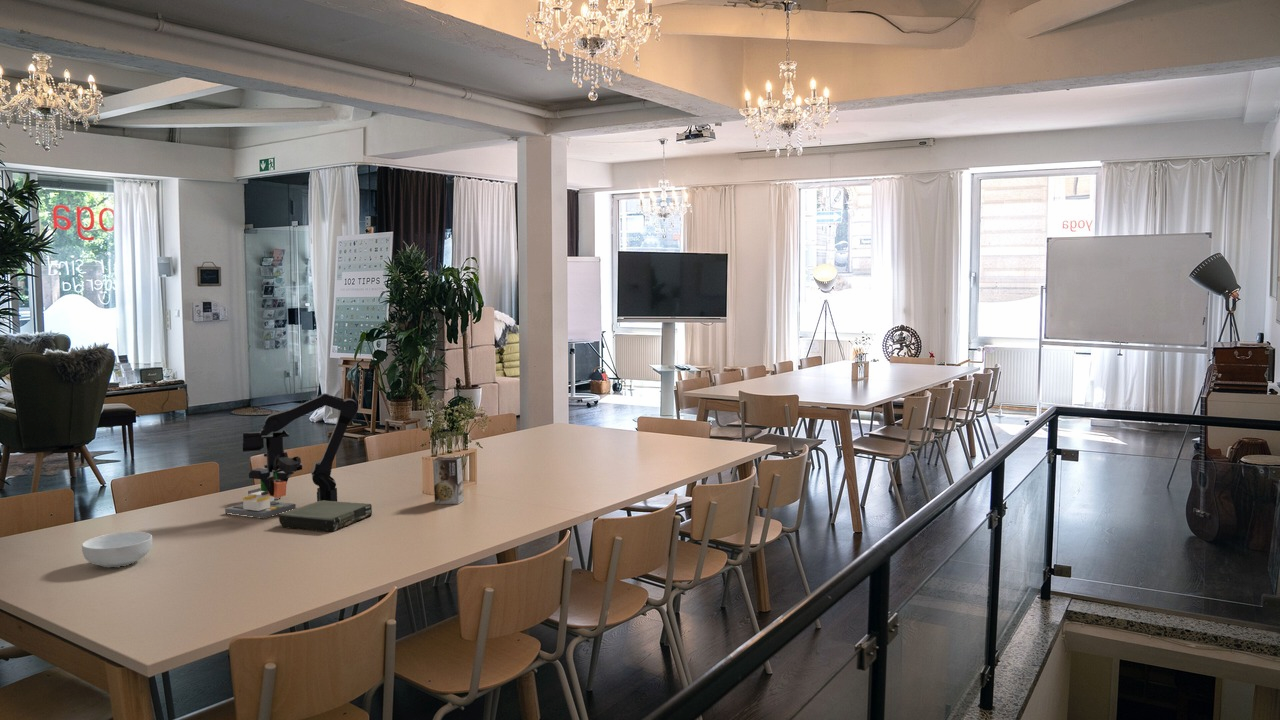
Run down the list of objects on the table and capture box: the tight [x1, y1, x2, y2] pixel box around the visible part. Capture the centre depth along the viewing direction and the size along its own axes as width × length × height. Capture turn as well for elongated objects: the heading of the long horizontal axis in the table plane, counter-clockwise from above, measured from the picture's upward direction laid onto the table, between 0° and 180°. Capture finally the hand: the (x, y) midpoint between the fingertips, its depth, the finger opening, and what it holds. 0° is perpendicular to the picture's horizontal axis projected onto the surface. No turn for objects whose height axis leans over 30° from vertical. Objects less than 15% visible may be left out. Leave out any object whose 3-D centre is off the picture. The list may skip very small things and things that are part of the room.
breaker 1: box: [247, 487, 275, 502], centre depth 308 cm, size 7×5×4 cm
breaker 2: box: [242, 494, 270, 511], centre depth 298 cm, size 7×5×4 cm
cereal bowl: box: [81, 531, 153, 568], centre depth 244 cm, size 17×17×7 cm
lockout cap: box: [268, 479, 288, 498], centre depth 304 cm, size 4×4×6 cm
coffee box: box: [432, 456, 464, 505], centre depth 313 cm, size 9×6×16 cm
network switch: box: [278, 500, 373, 533], centre depth 287 cm, size 23×24×5 cm
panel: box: [224, 500, 296, 519], centre depth 303 cm, size 18×14×2 cm
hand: (277, 494), depth 304 cm, fingers closed on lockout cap, 4 cm apart
